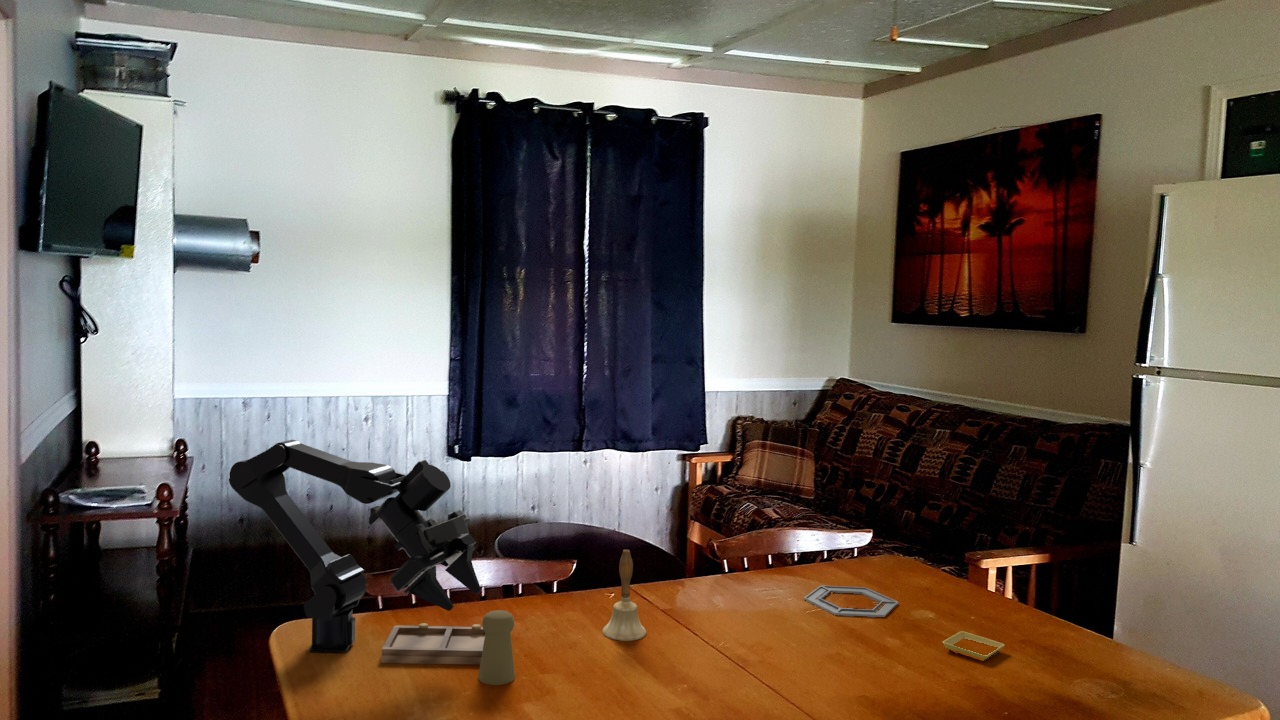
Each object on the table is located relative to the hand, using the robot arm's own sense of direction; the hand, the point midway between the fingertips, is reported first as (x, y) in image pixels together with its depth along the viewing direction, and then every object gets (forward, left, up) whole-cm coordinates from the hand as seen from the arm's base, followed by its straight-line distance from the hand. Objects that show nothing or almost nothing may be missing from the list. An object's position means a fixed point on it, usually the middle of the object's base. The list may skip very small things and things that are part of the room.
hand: (465, 600), depth 158 cm
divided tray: (-4, +9, -12) cm, 16 cm away
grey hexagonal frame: (+77, +39, -13) cm, 87 cm away
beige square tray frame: (+93, +13, -13) cm, 94 cm away
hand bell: (+28, +19, -12) cm, 36 cm away
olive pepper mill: (+6, -2, -12) cm, 14 cm away
